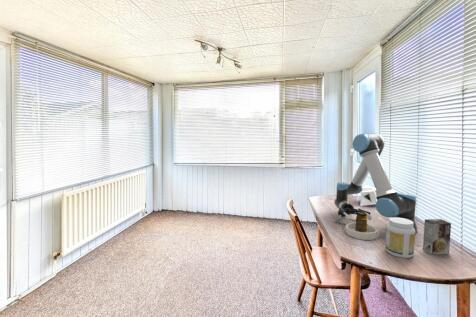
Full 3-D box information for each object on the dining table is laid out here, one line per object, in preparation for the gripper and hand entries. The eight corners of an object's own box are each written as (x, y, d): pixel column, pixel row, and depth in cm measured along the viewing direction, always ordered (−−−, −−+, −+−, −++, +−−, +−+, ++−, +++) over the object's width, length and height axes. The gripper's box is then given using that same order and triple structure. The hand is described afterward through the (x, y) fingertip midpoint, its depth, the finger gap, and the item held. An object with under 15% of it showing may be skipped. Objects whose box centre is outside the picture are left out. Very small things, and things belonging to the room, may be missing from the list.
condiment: (369, 233, 150) (370, 213, 149) (361, 236, 146) (362, 216, 144) (358, 229, 156) (359, 210, 155) (349, 232, 152) (350, 212, 151)
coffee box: (438, 248, 132) (441, 218, 131) (449, 254, 126) (452, 223, 124) (421, 248, 132) (424, 219, 130) (431, 254, 126) (434, 223, 124)
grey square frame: (363, 222, 172) (363, 221, 172) (356, 227, 162) (356, 227, 162) (342, 217, 181) (342, 217, 181) (334, 222, 171) (334, 221, 171)
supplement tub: (403, 247, 133) (406, 216, 131) (419, 259, 121) (422, 225, 119) (380, 247, 133) (382, 216, 132) (393, 258, 121) (395, 224, 120)
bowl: (381, 234, 151) (381, 227, 151) (372, 242, 139) (372, 235, 139) (351, 226, 163) (352, 220, 163) (341, 234, 151) (341, 227, 150)
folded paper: (362, 186, 207) (385, 189, 202) (357, 181, 230) (378, 184, 225) (359, 206, 209) (382, 210, 204) (355, 199, 232) (375, 202, 227)
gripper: (364, 213, 174) (379, 224, 153) (327, 212, 175) (338, 223, 154) (365, 202, 173) (380, 212, 152) (328, 202, 175) (338, 211, 154)
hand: (359, 217), depth 153 cm, fingers open, 13 cm apart
